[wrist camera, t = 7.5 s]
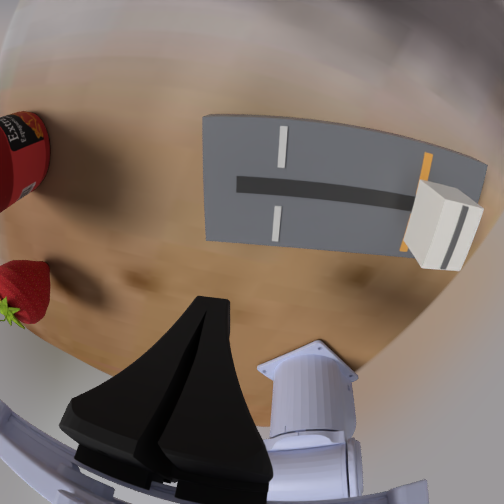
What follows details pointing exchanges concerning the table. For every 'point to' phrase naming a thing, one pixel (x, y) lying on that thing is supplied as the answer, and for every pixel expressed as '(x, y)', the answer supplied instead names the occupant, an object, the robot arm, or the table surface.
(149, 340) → the table surface
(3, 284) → the strawberry
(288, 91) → the table surface
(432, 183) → the fader knob
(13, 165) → the canned food
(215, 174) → the fader board
